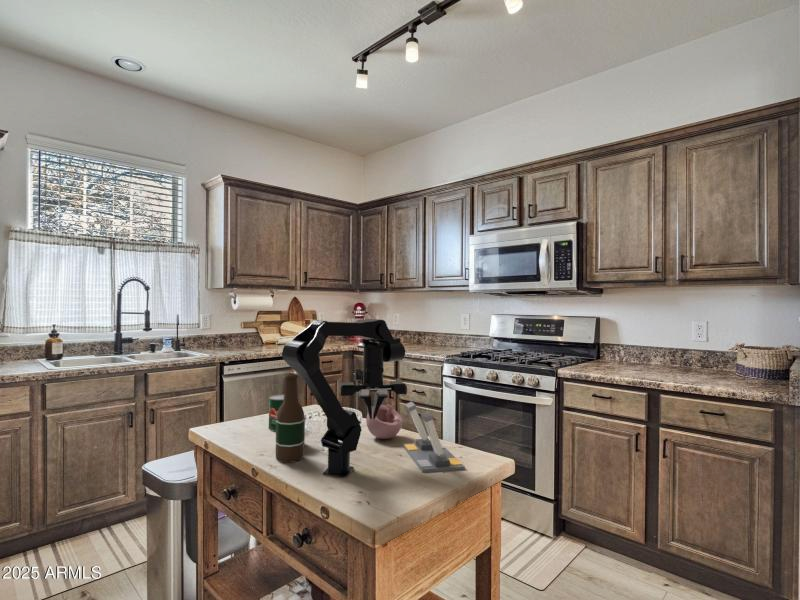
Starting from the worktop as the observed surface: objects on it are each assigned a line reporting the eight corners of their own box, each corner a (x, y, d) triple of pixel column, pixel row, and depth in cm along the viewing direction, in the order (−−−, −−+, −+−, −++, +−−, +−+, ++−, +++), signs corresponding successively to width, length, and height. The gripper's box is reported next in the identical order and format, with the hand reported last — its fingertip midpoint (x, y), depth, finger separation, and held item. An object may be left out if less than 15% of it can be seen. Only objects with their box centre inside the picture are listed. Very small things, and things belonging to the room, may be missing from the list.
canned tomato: (270, 432, 153) (270, 399, 153) (266, 426, 160) (267, 395, 160) (293, 430, 156) (294, 398, 156) (289, 424, 164) (290, 393, 164)
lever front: (438, 460, 123) (424, 418, 122) (434, 455, 127) (420, 414, 126) (446, 457, 123) (432, 415, 122) (441, 451, 127) (427, 411, 126)
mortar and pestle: (386, 446, 141) (387, 409, 141) (358, 438, 148) (359, 403, 148) (409, 437, 150) (410, 403, 150) (381, 431, 157) (382, 398, 158)
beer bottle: (289, 465, 123) (291, 377, 123) (269, 459, 127) (271, 374, 127) (309, 457, 130) (311, 373, 130) (289, 452, 134) (291, 371, 134)
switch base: (422, 472, 120) (422, 463, 120) (402, 446, 141) (402, 439, 141) (464, 469, 122) (465, 461, 122) (439, 444, 144) (439, 437, 144)
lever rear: (424, 444, 136) (408, 408, 135) (420, 440, 141) (405, 404, 139) (431, 441, 137) (415, 404, 136) (426, 436, 141) (411, 401, 140)
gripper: (399, 359, 137) (398, 410, 137) (337, 360, 133) (336, 413, 133) (408, 364, 126) (406, 420, 126) (341, 365, 122) (340, 423, 122)
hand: (372, 418), depth 127 cm, fingers closed
